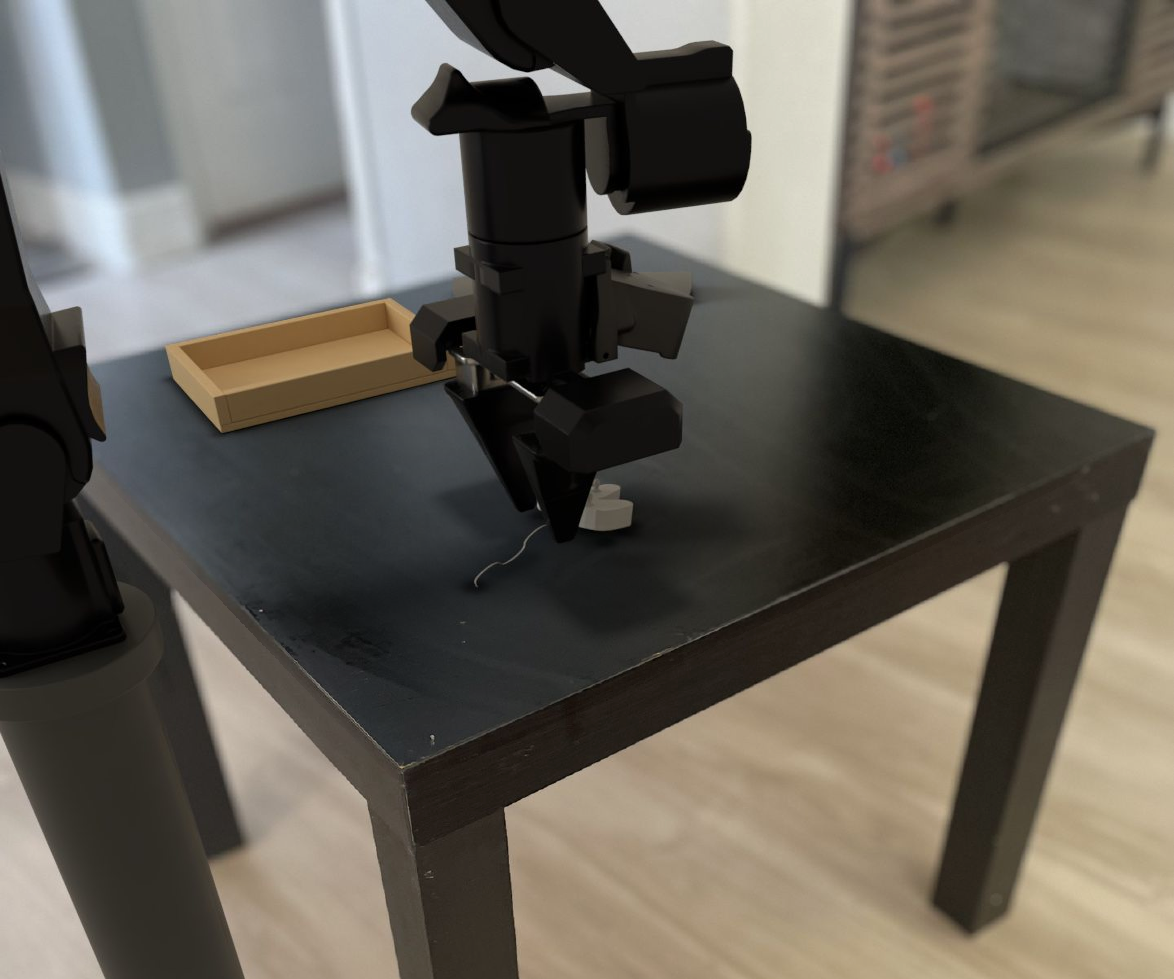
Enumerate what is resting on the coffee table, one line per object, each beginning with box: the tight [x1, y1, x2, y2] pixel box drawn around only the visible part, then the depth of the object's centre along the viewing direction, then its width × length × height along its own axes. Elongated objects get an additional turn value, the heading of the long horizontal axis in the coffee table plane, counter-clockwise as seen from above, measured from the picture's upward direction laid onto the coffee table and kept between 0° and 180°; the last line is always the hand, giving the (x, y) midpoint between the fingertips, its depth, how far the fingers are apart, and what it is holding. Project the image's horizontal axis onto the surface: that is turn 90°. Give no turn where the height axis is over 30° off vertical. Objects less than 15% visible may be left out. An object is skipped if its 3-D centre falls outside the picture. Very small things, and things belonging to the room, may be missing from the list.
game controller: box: [473, 478, 634, 588], centre depth 67 cm, size 6×12×3 cm, turn 158°
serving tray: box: [164, 297, 456, 434], centre depth 87 cm, size 18×12×2 cm, turn 121°
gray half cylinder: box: [452, 270, 694, 298], centre depth 99 cm, size 4×20×2 cm, turn 89°
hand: (545, 525), depth 67 cm, fingers open, 4 cm apart
